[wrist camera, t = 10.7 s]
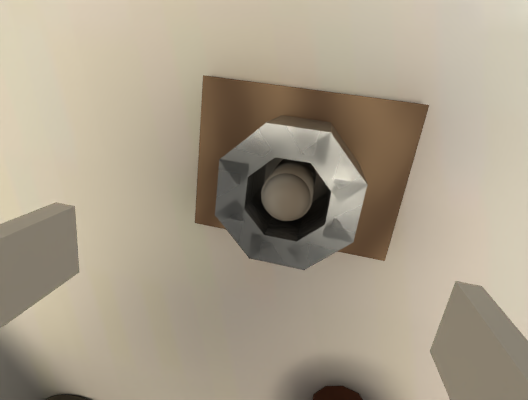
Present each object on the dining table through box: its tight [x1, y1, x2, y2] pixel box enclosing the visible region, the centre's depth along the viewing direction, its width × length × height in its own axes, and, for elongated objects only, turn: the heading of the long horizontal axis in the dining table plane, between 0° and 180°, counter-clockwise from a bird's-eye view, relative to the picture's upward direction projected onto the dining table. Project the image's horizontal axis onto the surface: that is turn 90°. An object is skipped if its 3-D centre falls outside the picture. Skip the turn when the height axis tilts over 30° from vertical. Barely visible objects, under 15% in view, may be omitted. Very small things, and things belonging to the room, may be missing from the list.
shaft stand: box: [195, 75, 429, 261], centre depth 22 cm, size 16×12×9 cm
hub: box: [215, 115, 368, 270], centre depth 21 cm, size 8×8×6 cm
